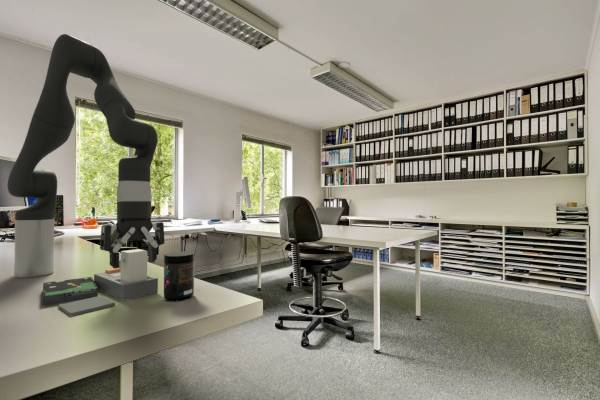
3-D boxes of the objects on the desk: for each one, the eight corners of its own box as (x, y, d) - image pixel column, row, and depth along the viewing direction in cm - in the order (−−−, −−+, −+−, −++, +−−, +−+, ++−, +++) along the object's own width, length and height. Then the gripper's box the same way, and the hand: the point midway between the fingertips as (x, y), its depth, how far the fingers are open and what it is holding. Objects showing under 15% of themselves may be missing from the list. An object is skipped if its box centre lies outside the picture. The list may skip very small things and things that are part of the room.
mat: (58, 307, 64) (58, 304, 64) (100, 298, 70) (100, 295, 70) (70, 316, 59) (70, 313, 59) (115, 305, 65) (115, 302, 65)
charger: (120, 283, 74) (120, 251, 74) (138, 280, 77) (139, 249, 77) (128, 286, 71) (128, 253, 71) (147, 282, 74) (147, 250, 75)
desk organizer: (85, 283, 83) (85, 268, 83) (117, 277, 89) (117, 263, 89) (123, 300, 68) (123, 281, 68) (157, 292, 75) (157, 275, 75)
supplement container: (178, 292, 75) (178, 250, 75) (200, 295, 73) (200, 252, 73) (156, 300, 69) (157, 255, 69) (179, 303, 66) (179, 257, 67)
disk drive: (42, 293, 76) (42, 308, 64) (42, 282, 76) (42, 295, 65) (91, 286, 82) (99, 298, 71) (91, 276, 83) (99, 286, 71)
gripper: (155, 200, 82) (155, 259, 82) (96, 199, 71) (95, 268, 71) (169, 200, 78) (169, 262, 77) (108, 199, 66) (108, 272, 66)
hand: (134, 265), depth 74 cm, fingers open, 8 cm apart
